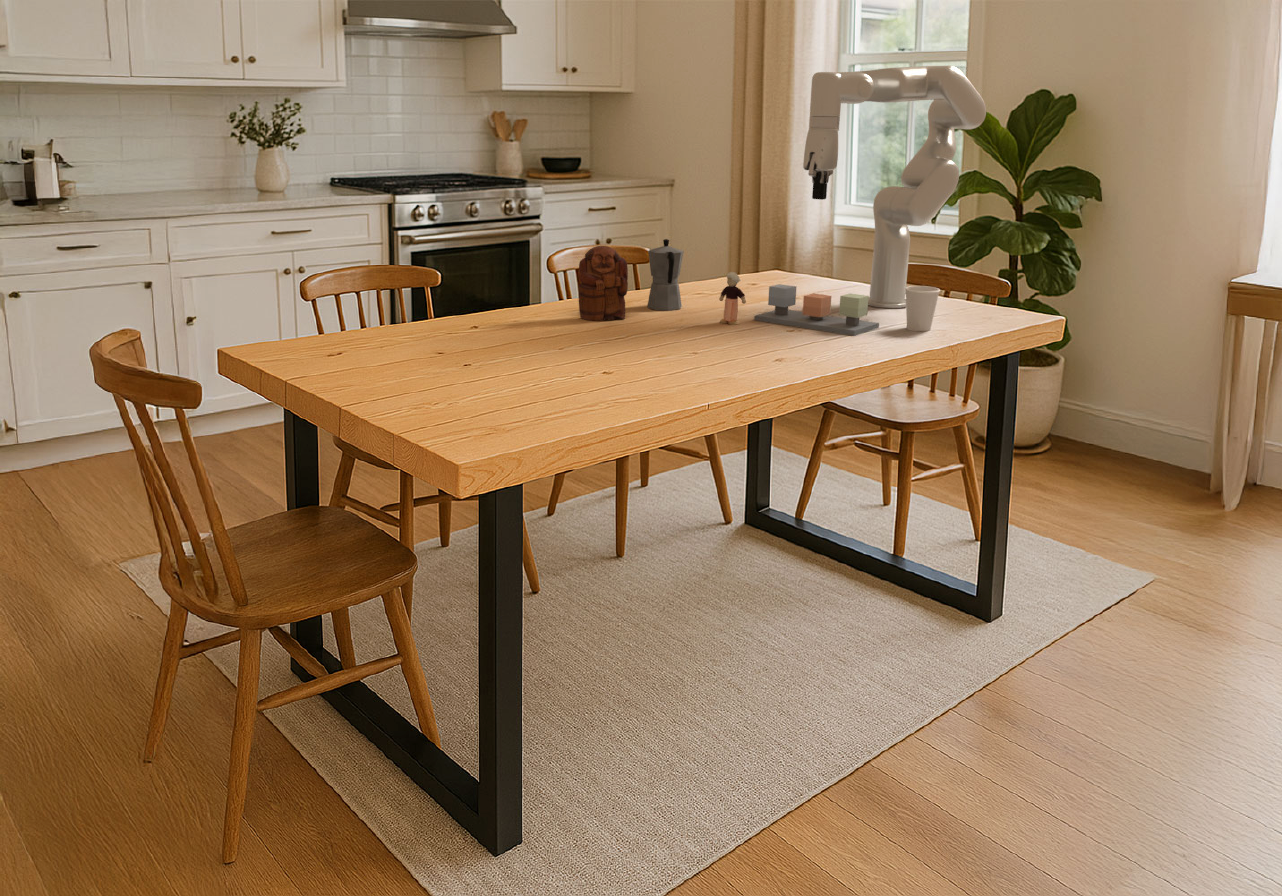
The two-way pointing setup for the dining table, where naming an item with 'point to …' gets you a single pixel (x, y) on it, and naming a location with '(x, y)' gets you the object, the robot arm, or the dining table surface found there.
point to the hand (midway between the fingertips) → (819, 198)
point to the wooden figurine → (602, 284)
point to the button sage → (853, 305)
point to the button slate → (782, 295)
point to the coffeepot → (665, 278)
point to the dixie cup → (920, 307)
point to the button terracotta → (816, 305)
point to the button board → (817, 321)
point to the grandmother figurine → (731, 299)
